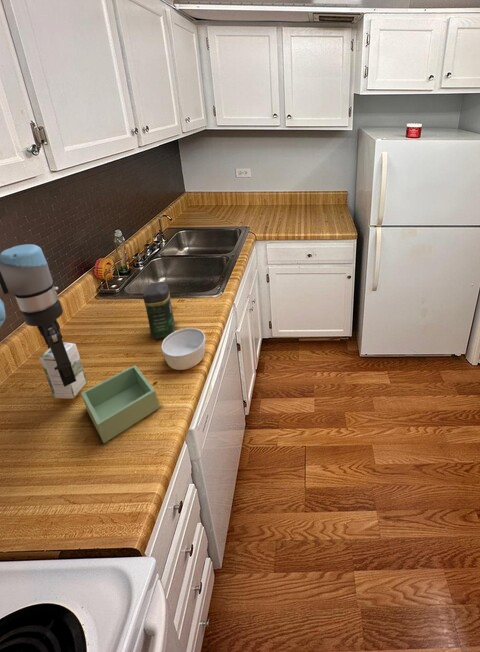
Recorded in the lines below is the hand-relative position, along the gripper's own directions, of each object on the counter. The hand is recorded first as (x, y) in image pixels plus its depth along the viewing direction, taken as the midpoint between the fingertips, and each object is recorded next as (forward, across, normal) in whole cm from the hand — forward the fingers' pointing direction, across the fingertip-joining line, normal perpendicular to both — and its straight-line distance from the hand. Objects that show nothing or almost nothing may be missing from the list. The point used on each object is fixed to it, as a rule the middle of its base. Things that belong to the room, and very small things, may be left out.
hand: (65, 374), depth 91 cm
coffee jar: (+8, +9, -30) cm, 32 cm away
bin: (+8, -15, -8) cm, 19 cm away
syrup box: (+6, 0, 0) cm, 6 cm away
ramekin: (+8, -10, -29) cm, 32 cm away
